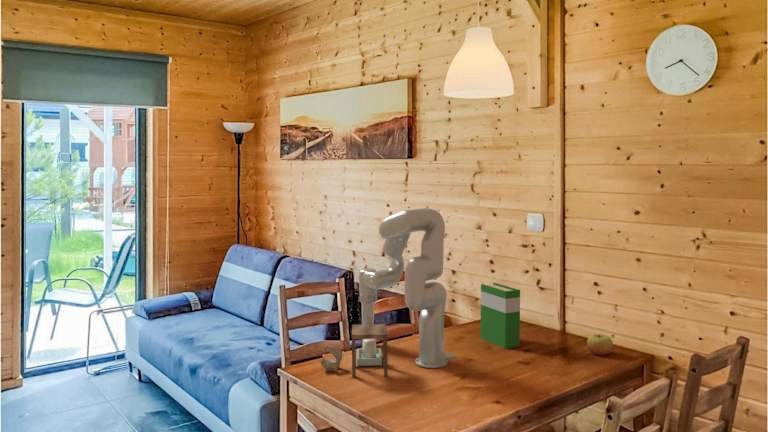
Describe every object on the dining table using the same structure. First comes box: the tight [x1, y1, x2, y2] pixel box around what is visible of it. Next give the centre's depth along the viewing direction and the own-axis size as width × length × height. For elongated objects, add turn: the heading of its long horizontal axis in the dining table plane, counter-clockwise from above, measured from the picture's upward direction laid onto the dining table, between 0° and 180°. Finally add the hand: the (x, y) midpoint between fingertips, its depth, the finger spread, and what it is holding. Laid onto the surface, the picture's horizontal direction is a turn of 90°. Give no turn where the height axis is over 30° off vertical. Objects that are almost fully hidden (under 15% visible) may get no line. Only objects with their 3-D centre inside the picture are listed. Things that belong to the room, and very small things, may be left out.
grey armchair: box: [356, 339, 383, 367], centre depth 247 cm, size 9×23×5 cm, turn 2°
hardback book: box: [479, 282, 521, 349], centre depth 265 cm, size 18×7×24 cm, turn 26°
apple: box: [586, 333, 614, 356], centre depth 249 cm, size 10×10×8 cm
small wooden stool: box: [351, 323, 389, 378], centre depth 230 cm, size 13×14×16 cm
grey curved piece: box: [320, 345, 343, 373], centre depth 232 cm, size 9×6×10 cm
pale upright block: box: [362, 339, 377, 358], centre depth 242 cm, size 5×5×7 cm
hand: (368, 340), depth 264 cm, fingers closed
